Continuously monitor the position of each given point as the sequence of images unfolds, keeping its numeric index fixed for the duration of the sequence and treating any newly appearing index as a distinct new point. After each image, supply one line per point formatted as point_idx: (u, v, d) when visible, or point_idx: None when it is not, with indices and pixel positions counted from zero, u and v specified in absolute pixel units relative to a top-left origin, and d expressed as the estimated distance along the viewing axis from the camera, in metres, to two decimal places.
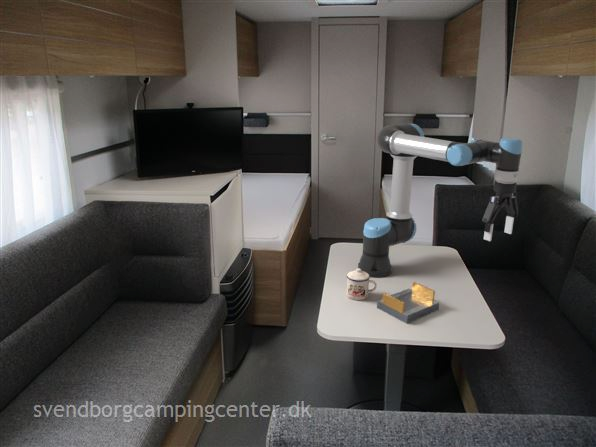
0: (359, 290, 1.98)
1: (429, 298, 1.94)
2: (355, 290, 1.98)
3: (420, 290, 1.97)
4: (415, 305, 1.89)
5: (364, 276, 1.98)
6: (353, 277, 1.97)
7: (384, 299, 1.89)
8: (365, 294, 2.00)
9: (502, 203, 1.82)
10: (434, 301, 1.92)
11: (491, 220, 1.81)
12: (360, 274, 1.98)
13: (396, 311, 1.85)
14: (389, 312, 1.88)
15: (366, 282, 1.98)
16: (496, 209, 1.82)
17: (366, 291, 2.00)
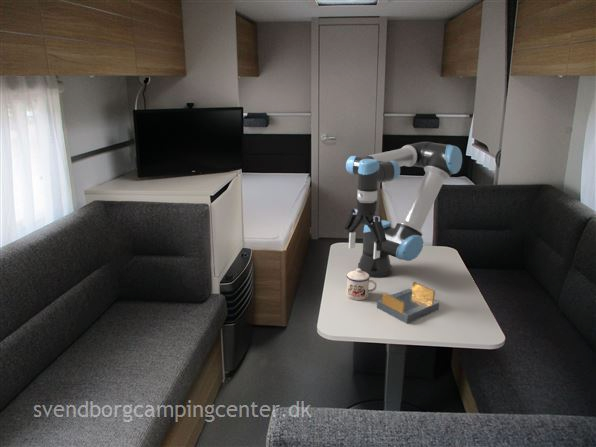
0: (359, 290, 1.98)
1: (429, 298, 1.94)
2: (355, 290, 1.98)
3: (420, 290, 1.97)
4: (415, 305, 1.89)
5: (364, 276, 1.98)
6: (353, 277, 1.97)
7: (384, 299, 1.89)
8: (365, 294, 2.00)
9: (357, 218, 1.94)
10: (434, 301, 1.92)
11: (348, 228, 2.00)
12: (360, 274, 1.98)
13: (396, 311, 1.85)
14: (389, 312, 1.88)
15: (366, 282, 1.98)
16: None
17: (366, 291, 2.00)
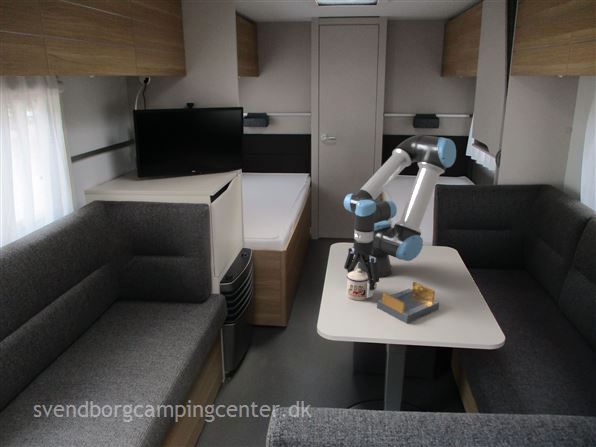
0: (359, 290, 1.98)
1: (429, 298, 1.94)
2: (355, 291, 1.98)
3: (420, 290, 1.97)
4: (415, 305, 1.89)
5: (364, 276, 1.98)
6: (353, 277, 1.97)
7: (384, 299, 1.89)
8: (365, 294, 1.99)
9: None
10: (434, 301, 1.92)
11: (347, 268, 2.04)
12: (360, 274, 1.98)
13: (396, 311, 1.85)
14: (389, 312, 1.88)
15: (366, 282, 1.98)
16: None
17: (366, 291, 1.99)
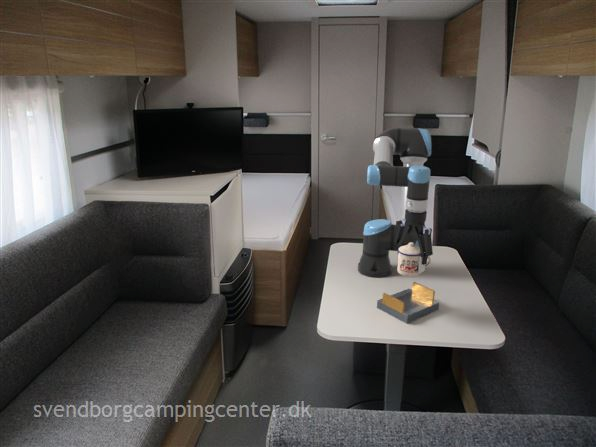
0: (412, 265, 1.82)
1: (429, 298, 1.94)
2: (408, 266, 1.83)
3: (420, 290, 1.97)
4: (415, 305, 1.89)
5: (418, 250, 1.82)
6: (406, 251, 1.82)
7: (384, 299, 1.89)
8: None
9: (405, 229, 1.84)
10: (434, 301, 1.92)
11: (398, 243, 1.89)
12: (413, 248, 1.83)
13: (396, 311, 1.85)
14: (389, 312, 1.88)
15: None
16: None
17: None
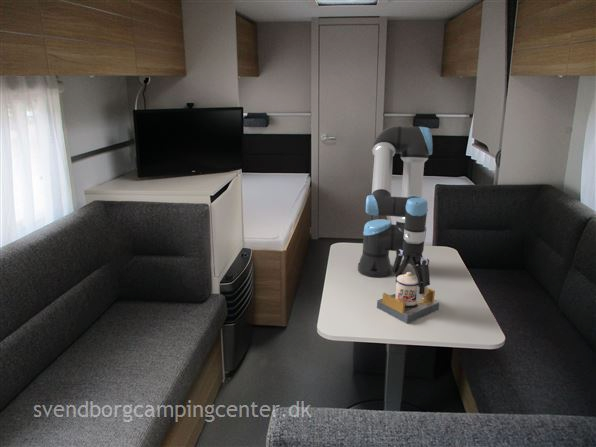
0: (410, 294, 1.86)
1: (429, 298, 1.94)
2: (406, 295, 1.86)
3: None
4: (415, 305, 1.89)
5: (415, 280, 1.86)
6: (404, 281, 1.85)
7: (384, 299, 1.89)
8: None
9: (403, 259, 1.88)
10: (434, 301, 1.92)
11: (396, 272, 1.93)
12: (411, 278, 1.86)
13: (396, 311, 1.85)
14: (389, 312, 1.88)
15: None
16: None
17: None
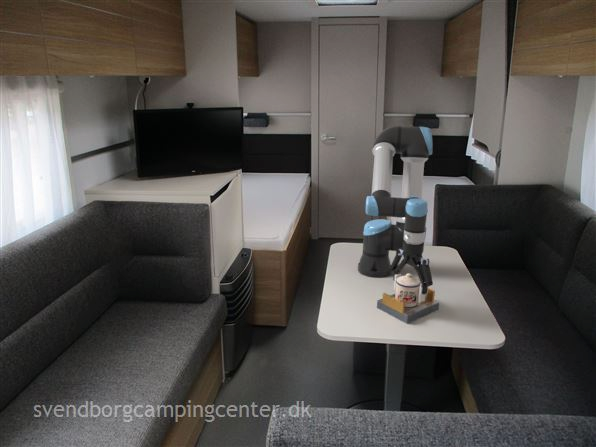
0: (410, 296, 1.86)
1: (429, 298, 1.94)
2: (406, 297, 1.87)
3: None
4: None
5: (415, 281, 1.86)
6: (404, 283, 1.86)
7: (384, 299, 1.89)
8: (416, 301, 1.88)
9: (403, 259, 1.88)
10: (434, 301, 1.92)
11: (394, 270, 1.93)
12: (411, 279, 1.87)
13: (396, 311, 1.85)
14: (389, 312, 1.88)
15: (417, 288, 1.86)
16: None
17: (417, 297, 1.88)
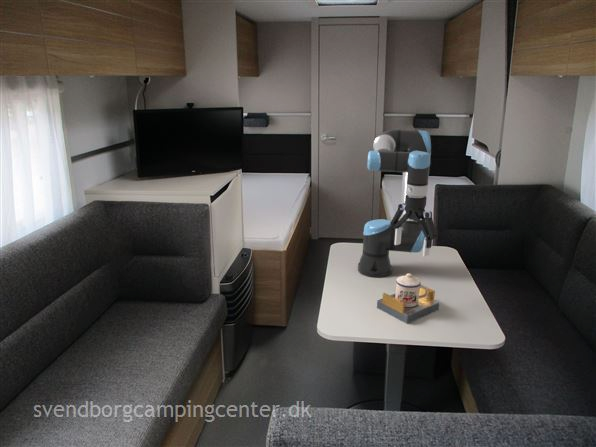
0: (410, 296, 1.86)
1: (429, 298, 1.94)
2: (406, 297, 1.87)
3: (420, 290, 1.97)
4: None
5: (415, 281, 1.86)
6: (404, 283, 1.86)
7: (384, 299, 1.89)
8: (416, 301, 1.88)
9: (405, 213, 1.85)
10: (434, 301, 1.92)
11: (395, 224, 1.91)
12: (411, 279, 1.87)
13: (396, 311, 1.85)
14: (389, 312, 1.88)
15: (417, 288, 1.86)
16: None
17: (417, 297, 1.88)
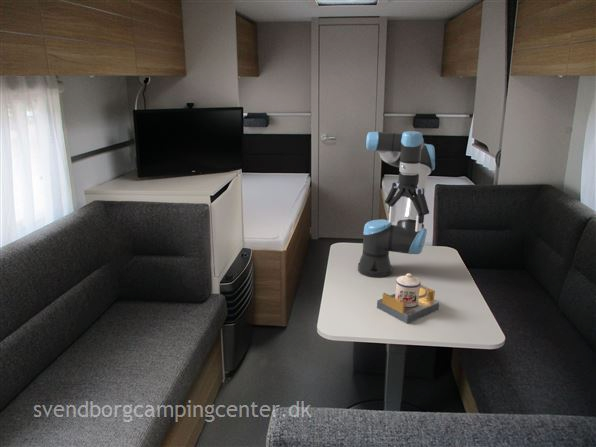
0: (410, 296, 1.86)
1: (429, 298, 1.94)
2: (406, 297, 1.87)
3: (420, 290, 1.97)
4: None
5: (415, 281, 1.86)
6: (404, 283, 1.86)
7: (384, 299, 1.89)
8: (416, 301, 1.88)
9: (398, 191, 1.94)
10: (434, 301, 1.92)
11: (389, 202, 2.00)
12: (411, 279, 1.87)
13: (396, 311, 1.85)
14: (389, 312, 1.88)
15: (417, 288, 1.86)
16: None
17: (417, 297, 1.88)
